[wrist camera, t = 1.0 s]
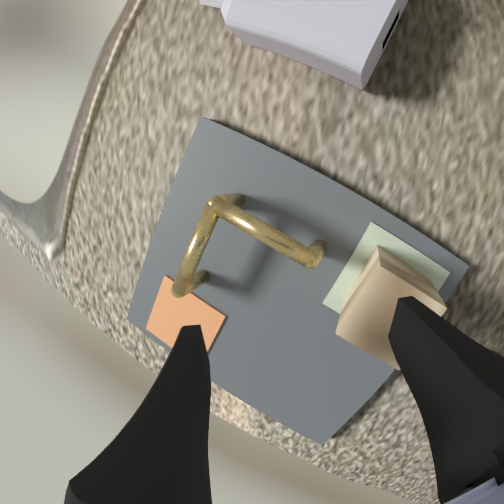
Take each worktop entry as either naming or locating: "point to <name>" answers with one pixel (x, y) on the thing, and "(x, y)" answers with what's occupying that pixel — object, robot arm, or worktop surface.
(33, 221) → the worktop surface
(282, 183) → the board
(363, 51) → the charger
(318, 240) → the brass corner pipe rail
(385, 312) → the block
